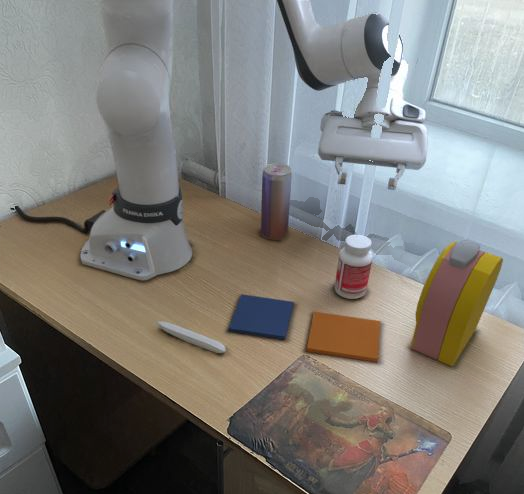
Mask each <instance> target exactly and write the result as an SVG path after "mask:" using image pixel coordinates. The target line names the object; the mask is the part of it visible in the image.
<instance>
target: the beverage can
mask: <svg viewBox="0 0 524 494" xmlns="http://www.w3.org/2000/svg"><path fill="white" fill-rule="evenodd" d="M261 175H262V177H261V178H262V179H261V204H260V205H261V207H260V233H261V235H262V236H263V237H264V238H265V239H268V240H271V241H279V240H282V239H284V238H285V237H286V236H287V235H288V233H289V221H290V219H289V218H290V205H291V193H292V192H291V190H292V178H293V177H292V176H293V174H292V168H291V166H289V164H286V163H282V162H269V163H268V164H265V165H264V166H263V170H262V173H261Z"/></svg>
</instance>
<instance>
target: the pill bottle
mask: <svg viewBox="0 0 524 494" xmlns="http://www.w3.org/2000/svg"><path fill="white" fill-rule="evenodd" d="M371 249H372V240H371V239H370V238H369V237H367V236H366V235H362V234H351V235H348V236H347V237H346V238H345V241H344V247H342V248H341V249H340V251H339V252H338V259H337V266H336V274H335V280H334V291H335V292H336V294H337V295H339V296H340V297H342V298H345V299H348V300H357V299H359V298H362V297H364V296H365V295H366V293H367V290H368V285H369V280H370V274H371V270H372V269H371V268H372V264H373V259H374V257H373V255H374V254H373V253H372V251H371Z"/></svg>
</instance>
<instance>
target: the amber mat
mask: <svg viewBox="0 0 524 494" xmlns="http://www.w3.org/2000/svg"><path fill="white" fill-rule="evenodd" d="M312 314H313V315H312V319H311V323H310V324H311V325H310V328H309V329H310V330H309V333H308V340H307V345H306V349H305V350H306V352H308V353H315V354H322V355H328V356H329V355H330V356H334V357H341V358H349V359H354V360H361V361H367V362H375V363H378V361H379V354H380V353H379V352H380V351H379V350H380V334H381V321H380V320H376V319H368V318H360V317H353V316H347V315H341V314H340V315H339V314H334V313H326V312H319V311H313V313H312Z"/></svg>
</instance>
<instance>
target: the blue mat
mask: <svg viewBox="0 0 524 494" xmlns="http://www.w3.org/2000/svg"><path fill="white" fill-rule="evenodd" d="M294 305H295V301H291V300H283V299H277V298H269V297H263V296H256V295H249V294H240V297H239V300H238V301H237V305H236V308H235V310H234V314H233V316H232V319H231V321H230V324H229V325H228V326H229V327H228V332H231V333H238V334H242V335H243V334H244V335H250V336H255V337H256V336H257V337H264V338H269V339H276V340H282V341H283V340H286V337H287V334H288V329H289V325H290V321H291V317H292V312H293V309H294Z"/></svg>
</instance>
